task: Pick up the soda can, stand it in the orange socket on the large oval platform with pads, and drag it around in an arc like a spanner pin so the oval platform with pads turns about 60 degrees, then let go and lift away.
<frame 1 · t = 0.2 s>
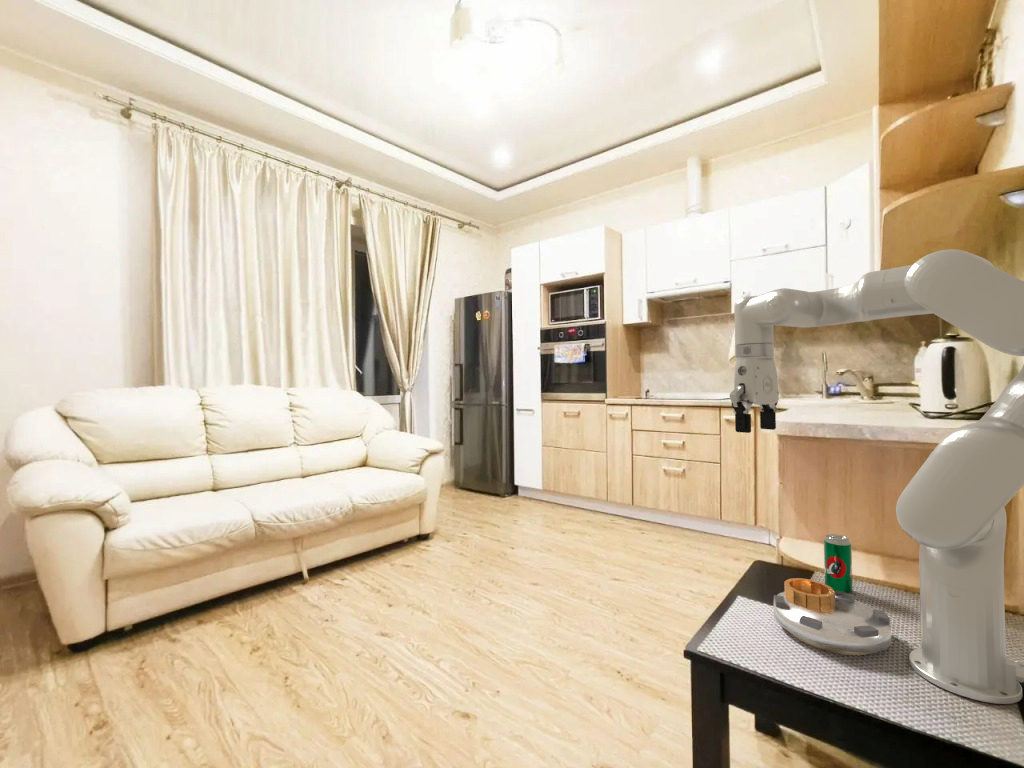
hand: (755, 430, 100), 37 cm above the table, tool pointing down, fingers open, 9 cm apart
soda can: (838, 591, 102), on the table
nut base: (829, 632, 85), on the table
oval platform with pads: (828, 611, 85), point 4 cm above the table, hinge at 0.0°
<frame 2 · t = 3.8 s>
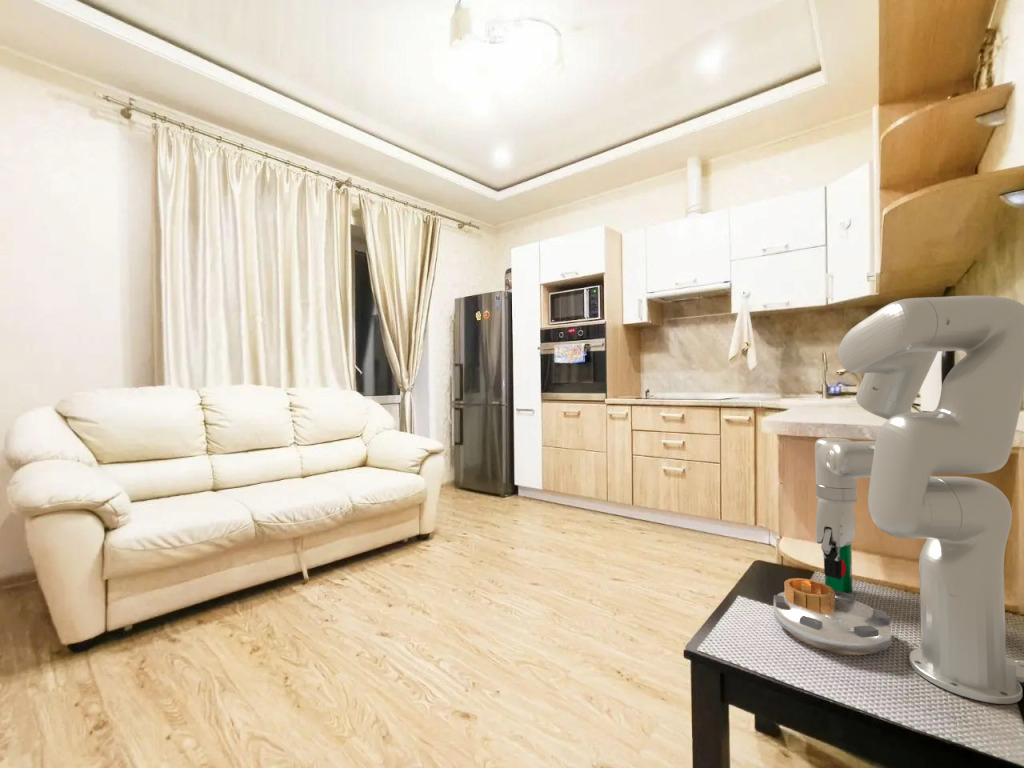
hand: (838, 572, 102), 4 cm above the table, tool pointing down, fingers closed on soda can, 5 cm apart
soda can: (838, 591, 102), on the table, touching gripper
everything else where it was.
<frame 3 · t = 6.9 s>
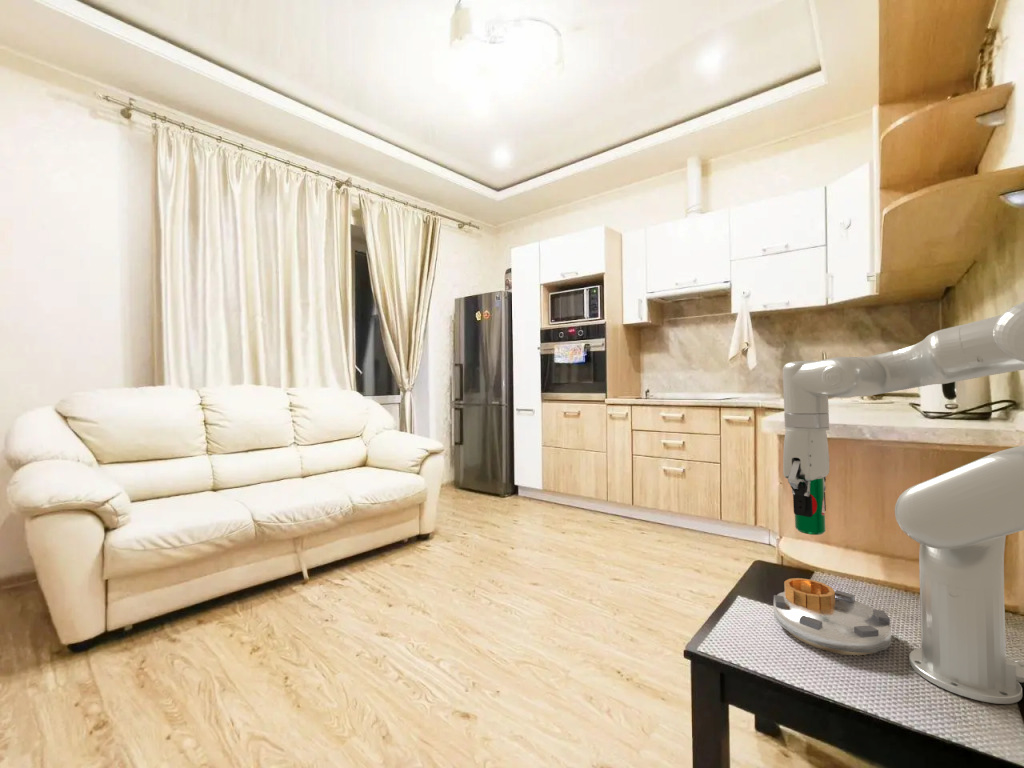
hand: (809, 512, 91), 21 cm above the table, tool pointing down, fingers closed on soda can, 5 cm apart
soda can: (810, 532, 91), point 17 cm above the table, touching gripper
everything else where it was.
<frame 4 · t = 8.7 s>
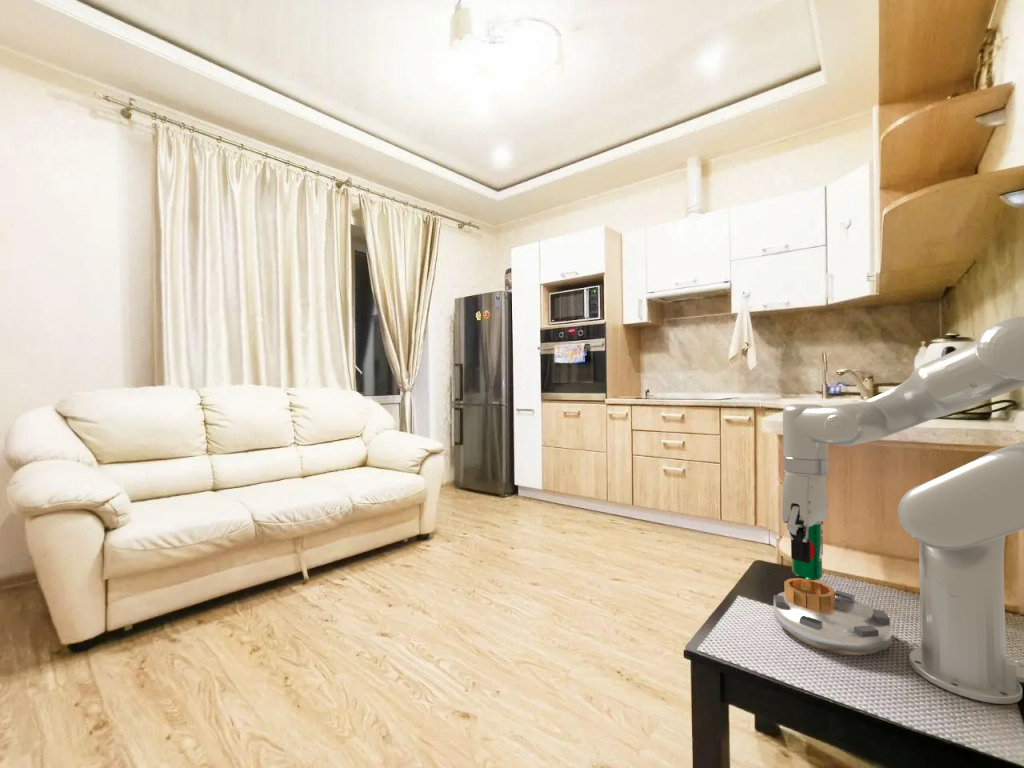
hand: (807, 556, 90), 12 cm above the table, tool pointing down, fingers closed on soda can, 5 cm apart
soda can: (807, 576, 90), point 8 cm above the table, touching gripper
everything else where it was.
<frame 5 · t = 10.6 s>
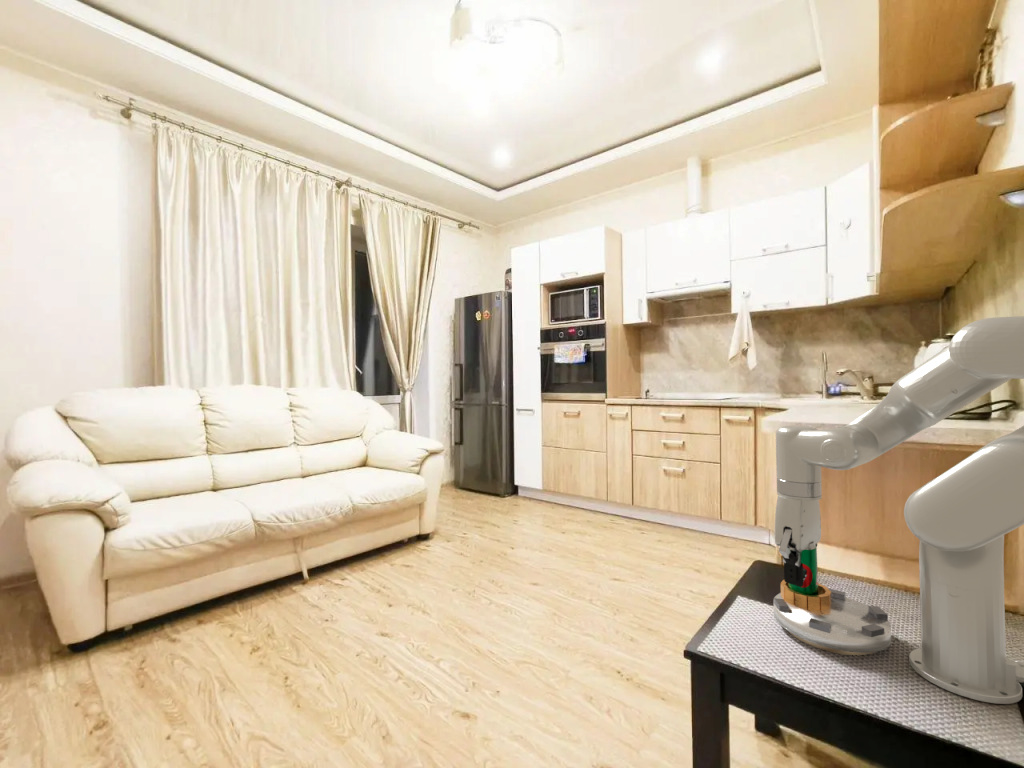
hand: (800, 579, 90), 8 cm above the table, tool pointing down, fingers closed on soda can, 5 cm apart
soda can: (803, 600, 89), point 4 cm above the table, touching gripper, oval platform with pads
oval platform with pads: (828, 611, 85), point 4 cm above the table, hinge at 10.2°, touching soda can
when the fingers open (9 cm above the table, at t = 11.8 s): soda can stays where it is, resting on oval platform with pads.
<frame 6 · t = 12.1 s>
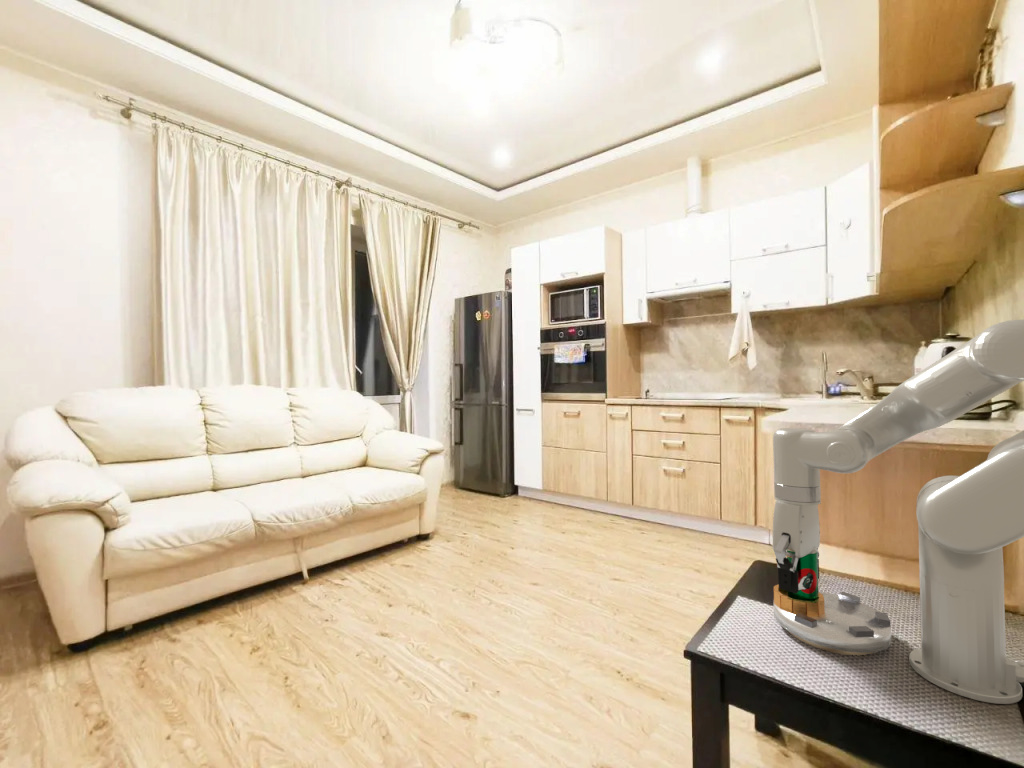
hand: (799, 583, 86), 9 cm above the table, tool pointing down, fingers open, 8 cm apart
soda can: (803, 607, 87), point 4 cm above the table, touching oval platform with pads
oval platform with pads: (828, 611, 85), point 4 cm above the table, hinge at 53.8°, touching soda can
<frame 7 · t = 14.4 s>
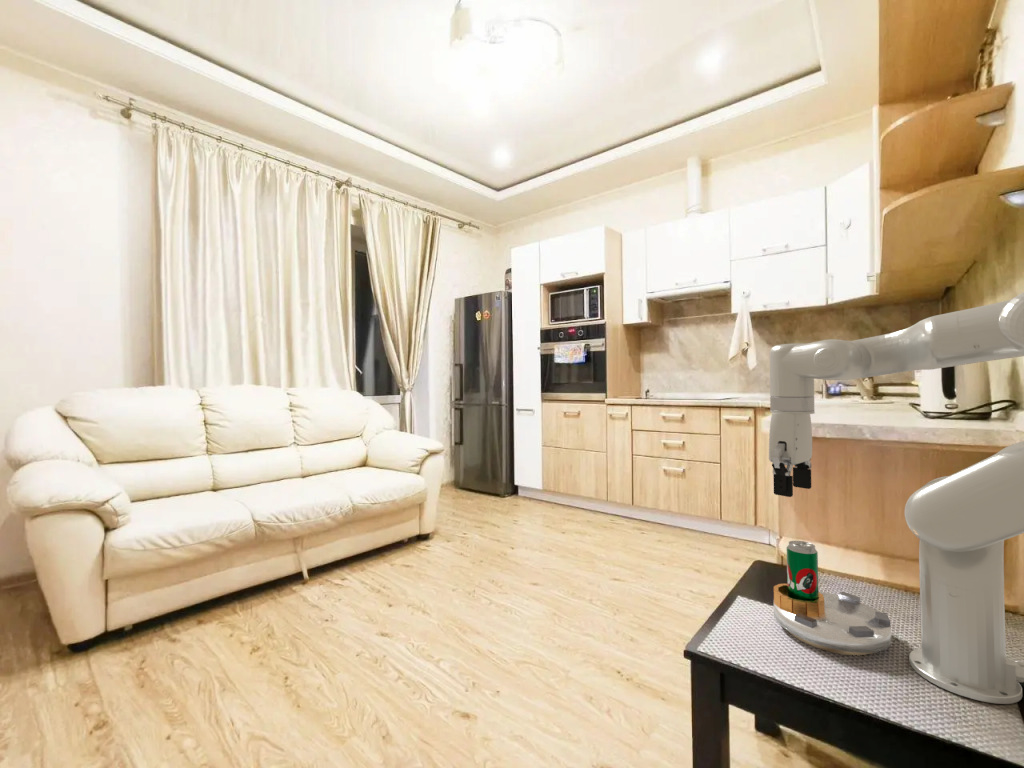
hand: (793, 491, 90), 25 cm above the table, tool pointing down, fingers open, 9 cm apart
nothing on the table moved.
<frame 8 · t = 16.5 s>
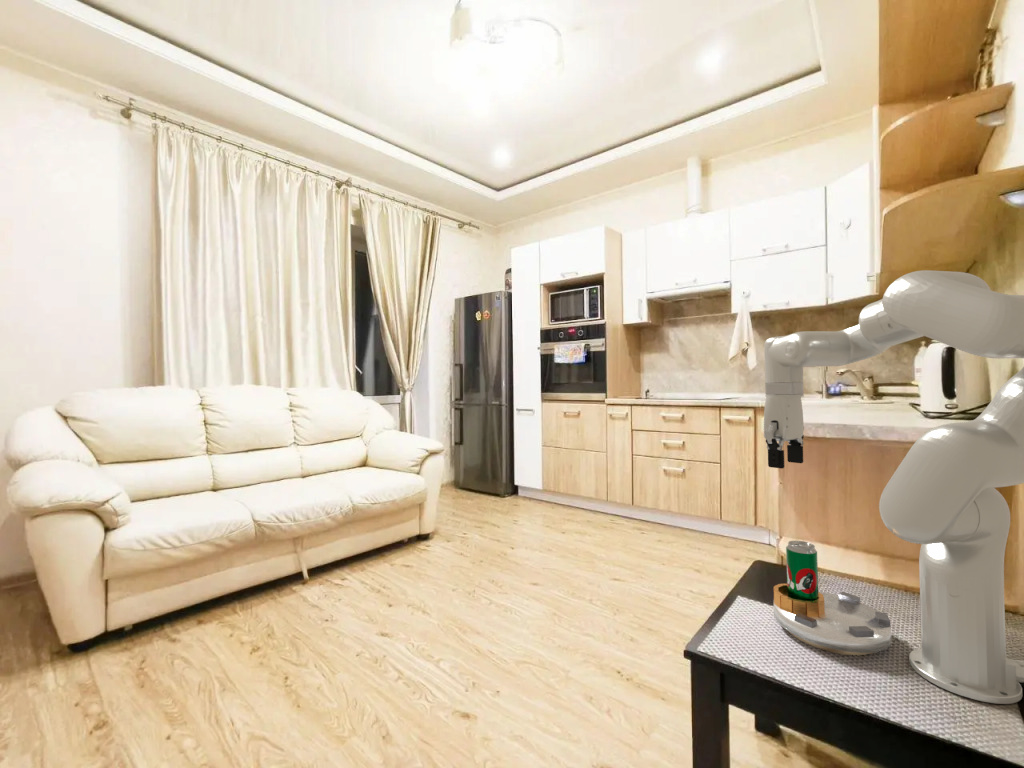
hand: (786, 465, 103), 28 cm above the table, tool pointing down, fingers open, 9 cm apart
nothing on the table moved.
at the end: oval platform with pads at +54° (first picture: +0°); soda can 1.2 cm from the target spot on the oval platform with pads, point 3.7 cm above the oval platform with pads's base; soda can tilted 0° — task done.
